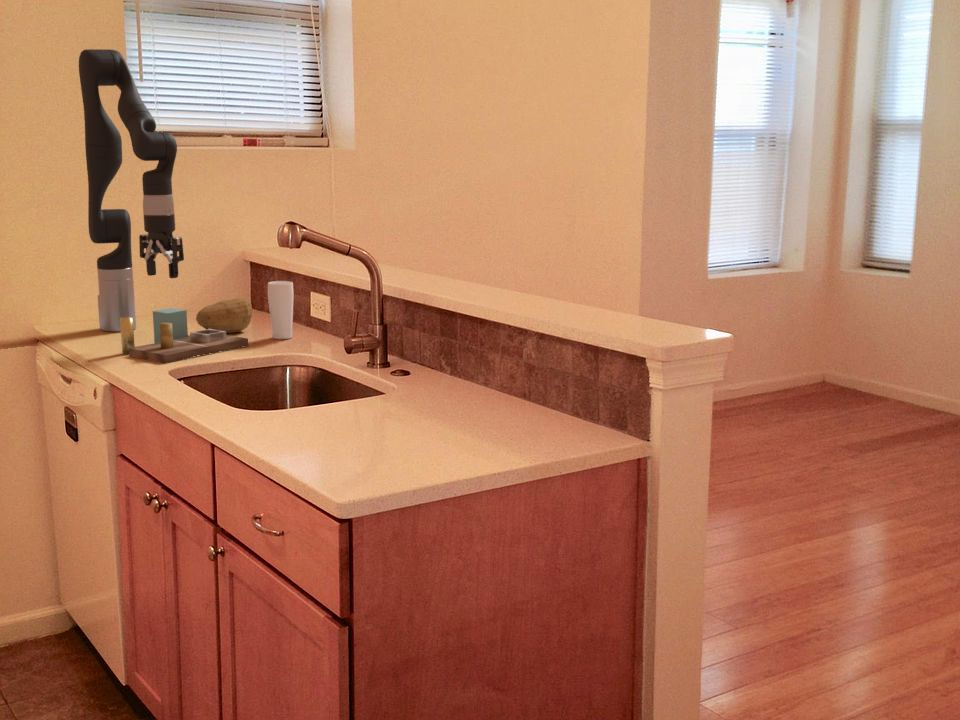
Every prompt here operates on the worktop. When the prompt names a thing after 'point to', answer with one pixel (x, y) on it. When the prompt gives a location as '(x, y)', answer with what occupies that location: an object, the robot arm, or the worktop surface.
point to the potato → (226, 315)
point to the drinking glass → (281, 308)
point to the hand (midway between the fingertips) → (162, 276)
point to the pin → (127, 334)
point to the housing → (174, 317)
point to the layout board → (186, 345)
